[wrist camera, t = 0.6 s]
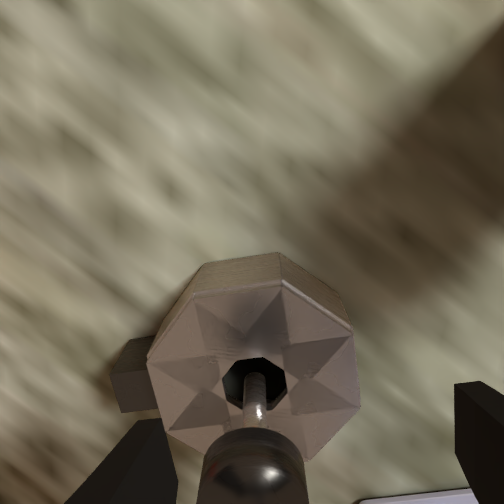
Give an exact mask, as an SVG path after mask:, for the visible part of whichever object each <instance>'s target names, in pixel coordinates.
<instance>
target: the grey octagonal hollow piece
mask: <svg viewBox="0 0 504 504" xmlns="http://www.w3.org/2000/svg"><path fill="white" fill-rule="evenodd" d="M257 357H264V358H266V359H267V360H269V361H270V362H272V363H274V364H275V365H277V366H278V367H280V368H281V369H283V370H284V371H285V377H286V384H287V386H286V387H285V388H284V390H283V391H282V392H281V393H280V394H279V395H278V396H277V398H276V399H270V400H266V416H267V429H270V430H273V431H276V432H278V433H280V434H282V435H284V436H285V437H287V438H288V439H289V440H291V441H292V442H293V443H294V444H295V445H296V447H297V448H298V450H299V451H300V453H301V455H302V458H303V461H304V462H307V461H308V460H311V459H312V458H313V457H314V456H315V455H316V454H317V453H318V452H319V451H320V450H321V449H322V448H323V447H324V446H325V445H326V443H327V442H328V441H329V440H330V439H331V438H332V437H333V436H334V435H335V434H336V433H337V432H338V431H339V430H340V429H341V428H342V427H343V426H344V425H345V424H346V423H347V422H348V421H349V420H350V419H351V418H352V416H353V415H354V414H355V413H356V412H357V411H358V410H359V409H360V407H361V405H360V391H359V381H358V371H357V362H356V352H355V342H354V333H353V327H352V324H351V322H350V320H349V318H348V315H347V313H346V311H345V309H344V306H343V304H342V302H341V299H340V297H339V295H338V293H337V292H335V291H334V290H332V289H331V288H329V287H328V286H327V285H325V284H324V283H322V282H321V281H319V280H318V279H317V278H315V277H314V276H312V275H311V274H309V273H308V272H306V271H305V270H304V269H302V268H301V267H299V266H298V265H296V264H295V263H294V262H292V261H291V260H289V259H288V258H286V257H285V256H283V255H282V254H281V253H278V252H276V253H270V254H263V255H256V256H250V257H243V258H237V259H230V260H223V261H217V262H210V263H205V264H203V265H202V267H201V268H200V270H199V271H198V272H197V274H196V275H195V277H194V278H193V279H192V281H191V282H190V283H189V285H188V286H187V288H186V289H185V290H184V292H183V293H182V295H181V296H180V297H179V299H178V300H177V301H176V303H175V304H174V306H173V307H172V308H171V310H170V311H169V313H168V314H167V315H166V317H165V318H164V320H163V322H162V324H161V327H160V329H159V331H158V333H157V335H156V336H152V337H145V338H138V339H130V340H129V342H128V344H127V345H126V347H125V349H124V350H123V352H122V354H121V356H120V357H119V359H118V361H117V363H116V364H115V366H114V368H113V369H112V371H111V373H110V378H111V382H112V385H113V388H114V391H115V394H116V398H117V401H118V404H119V407H120V411H121V413H126V412H133V411H141V410H149V409H157V408H159V411H160V415H161V418H162V421H163V425H164V429H165V432H166V431H167V432H166V433H167V434H169V435H171V436H173V437H174V438H176V439H178V440H180V441H181V442H183V443H185V444H187V445H188V446H190V447H192V448H194V449H195V450H197V451H199V452H200V453H202V454H204V455H205V454H206V452H207V450H208V448H209V447H210V446H211V444H212V443H213V442H214V441H215V440H216V439H218V438H219V437H220V436H222V435H224V434H225V433H228V432H230V431H232V430H236V429H240V428H242V411H243V402H241V401H239V400H238V399H236V398H234V397H233V396H231V395H229V394H228V393H227V390H226V385H225V381H224V375H225V374H226V373H227V371H228V370H229V369H230V368H231V366H232V365H233V364H234V363H235V362H236V360H242V359H250V358H257Z"/></svg>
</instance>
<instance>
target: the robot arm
mask: <svg viewBox="0 0 504 504" xmlns="http://www.w3.org/2000/svg"><path fill="white" fill-rule="evenodd" d="M454 413H455V454H456V456H457V459H458V461H459V463H460V465H461V468H462V470H463V472H464V474H465V477H466V479H467V481H468V483H469V485H470V487H471V488H469V489H460V490H451V491H442V492H433V493H424V494H415V495H406V496H397V497H388V498H379V499H370V500H363V501H361V502H360V503H359V504H504V395H503V394H501V393H499V392H498V391H496V390H495V389H493V388H491V387H490V386H488V385H486V384H485V383H483V382H481V381H475V382H466V383H458V384H454ZM177 489H178V479H177V475H176V471H175V467H174V463H173V460H172V456H171V452H170V448H169V444H168V440H167V437H166V433H165V429H164V425H163V421H162V418H155V419H147V420H138V421H137V422H136V423H135V425H134V426H133V427H132V428H131V429H130V430H129V431H128V432H127V434H126V435H125V436H124V437H123V438H122V439H121V440H120V442H119V443H118V444H117V445H116V446H115V447H114V449H113V450H112V451H111V452H110V453H109V454H108V456H107V457H106V458H105V459H104V460H103V461H102V462H101V464H100V465H99V466H98V467H97V468H96V469H95V470H94V471H93V473H92V474H91V475H90V476H89V477H88V478H87V479H86V481H85V482H84V483H83V484H82V485H81V486H80V487H79V488H78V489H77V490H76V491H75V492H74V493H73V494H72V496H71V497H70V498H69V499H68V500H67V501H66V502H65V503H64V504H176V497H177Z"/></svg>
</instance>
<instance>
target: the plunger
mask: <svg viewBox="0 0 504 504" xmlns="http://www.w3.org/2000/svg"><path fill="white" fill-rule="evenodd" d="M196 504H309V499H308V492H307V484H306V476H305V468H304V461H303V458H302V455H301V453H300V451H299V450H298V448H297V447H296V445H295V444H294V443H293V442H292V441H291V440H289V439H288V438H287V437H285V436H284V435H282V434H280V433H278V432H276V431H273V430H270V429H267V416H266V380H265V377H264V376H263V375H262V374H261V373H258V372H252V373H249V374H248V375H247V376H246V377H245V379H244V394H243V411H242V428H240V429H236V430H232V431H230V432H228V433H225V434H224V435H222V436H220V437H219V438H218V439H216V440H215V441H214V442H213V443H212V444H211V446H210V447H209V448H208V450H207V452H206V454H205V456H204V460H203V466H202V472H201V478H200V484H199V490H198V497H197V503H196Z"/></svg>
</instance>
